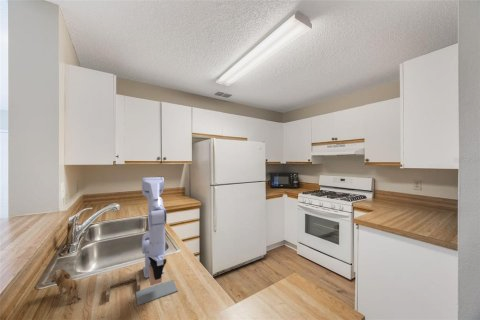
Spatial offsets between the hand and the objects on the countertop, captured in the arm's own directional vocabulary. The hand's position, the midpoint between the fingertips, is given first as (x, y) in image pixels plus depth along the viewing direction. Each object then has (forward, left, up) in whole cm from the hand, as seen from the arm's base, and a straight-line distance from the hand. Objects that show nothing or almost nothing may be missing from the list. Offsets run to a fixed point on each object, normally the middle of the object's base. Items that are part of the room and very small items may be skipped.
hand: (156, 275), depth 74 cm
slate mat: (0, 0, -6) cm, 6 cm away
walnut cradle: (-8, -11, -6) cm, 15 cm away
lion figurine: (-16, -29, -7) cm, 34 cm away
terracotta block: (0, 0, -2) cm, 2 cm away
